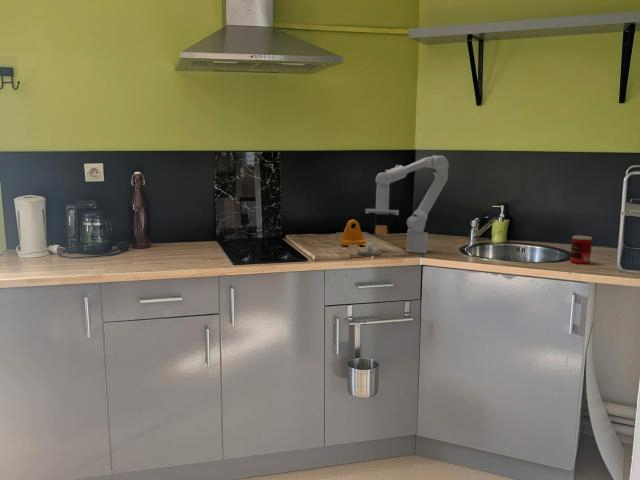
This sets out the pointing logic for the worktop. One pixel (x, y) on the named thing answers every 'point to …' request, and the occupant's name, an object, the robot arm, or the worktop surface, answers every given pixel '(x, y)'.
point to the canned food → (581, 249)
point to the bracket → (352, 235)
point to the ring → (381, 229)
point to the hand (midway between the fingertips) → (381, 230)
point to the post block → (369, 251)
